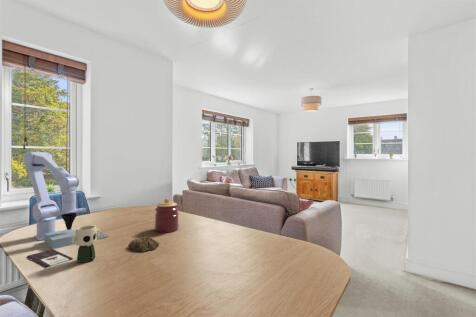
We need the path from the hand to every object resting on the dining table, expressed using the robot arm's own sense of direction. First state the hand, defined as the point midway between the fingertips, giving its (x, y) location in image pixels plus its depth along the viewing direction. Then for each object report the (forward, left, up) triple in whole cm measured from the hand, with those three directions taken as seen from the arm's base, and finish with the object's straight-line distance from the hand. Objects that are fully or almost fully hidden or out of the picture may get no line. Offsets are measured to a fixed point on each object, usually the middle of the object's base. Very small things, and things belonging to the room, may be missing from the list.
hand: (68, 229), depth 121 cm
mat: (0, +9, -6) cm, 11 cm away
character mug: (+31, -3, -6) cm, 32 cm away
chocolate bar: (+18, -12, -6) cm, 22 cm away
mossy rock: (+35, +20, -6) cm, 41 cm away
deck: (0, -3, -6) cm, 6 cm away
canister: (+19, +42, -6) cm, 47 cm away
